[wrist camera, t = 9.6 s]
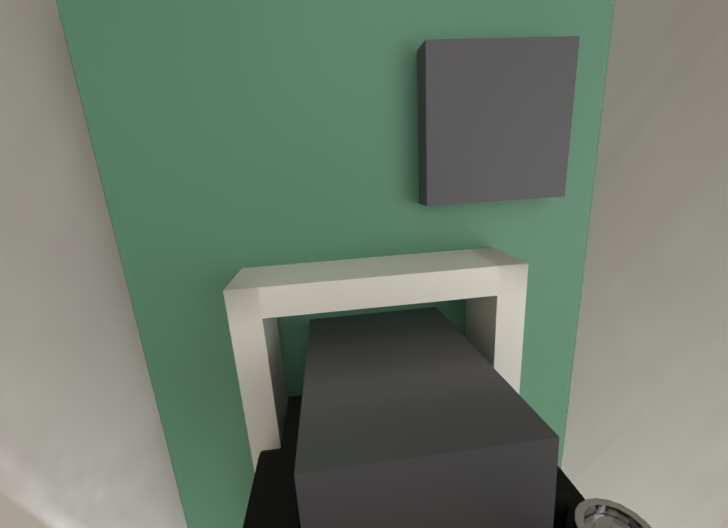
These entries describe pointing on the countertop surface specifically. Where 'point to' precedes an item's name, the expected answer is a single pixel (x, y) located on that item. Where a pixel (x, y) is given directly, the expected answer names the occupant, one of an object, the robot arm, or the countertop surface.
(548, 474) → the plug
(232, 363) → the board
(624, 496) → the countertop surface
